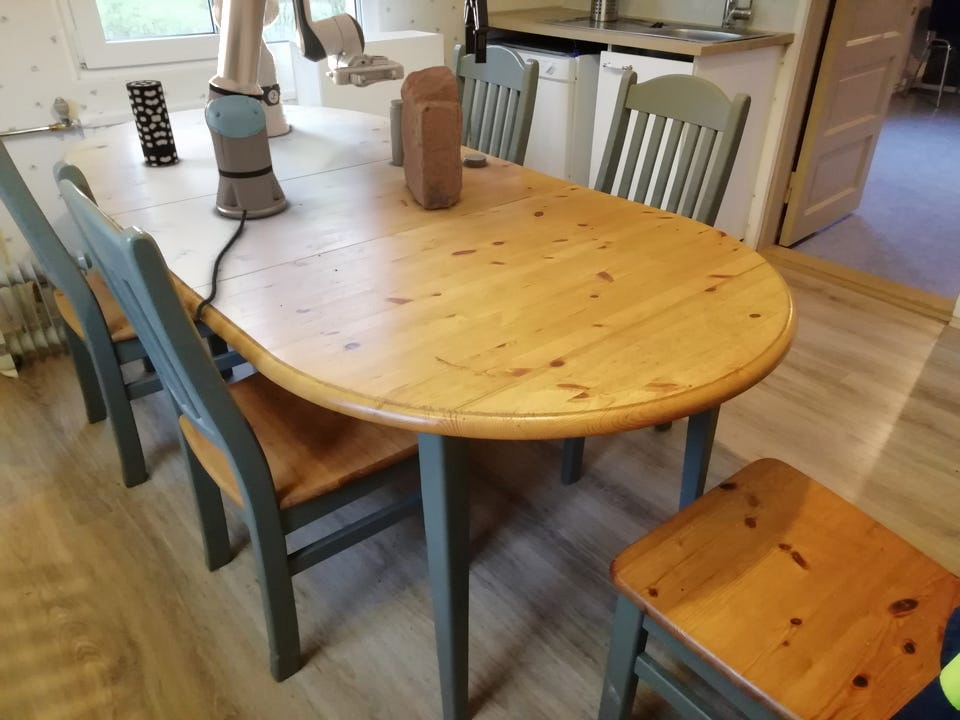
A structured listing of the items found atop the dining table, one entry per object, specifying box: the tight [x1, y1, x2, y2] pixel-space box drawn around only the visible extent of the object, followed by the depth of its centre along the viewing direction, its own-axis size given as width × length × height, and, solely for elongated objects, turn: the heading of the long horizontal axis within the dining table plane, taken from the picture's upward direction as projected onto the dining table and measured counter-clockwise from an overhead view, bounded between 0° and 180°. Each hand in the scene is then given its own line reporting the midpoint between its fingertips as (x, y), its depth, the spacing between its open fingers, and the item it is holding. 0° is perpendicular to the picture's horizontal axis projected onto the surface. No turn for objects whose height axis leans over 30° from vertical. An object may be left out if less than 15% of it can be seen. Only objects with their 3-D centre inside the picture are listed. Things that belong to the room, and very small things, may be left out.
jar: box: [389, 98, 405, 167], centre depth 184 cm, size 5×5×16 cm
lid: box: [463, 153, 487, 168], centre depth 188 cm, size 6×6×2 cm
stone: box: [400, 65, 464, 210], centre depth 159 cm, size 22×11×28 cm, turn 18°
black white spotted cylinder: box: [125, 79, 179, 167], centre depth 181 cm, size 8×8×20 cm
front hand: (475, 58), depth 174 cm, fingers open, 13 cm apart
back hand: (379, 78), depth 187 cm, fingers open, 8 cm apart
